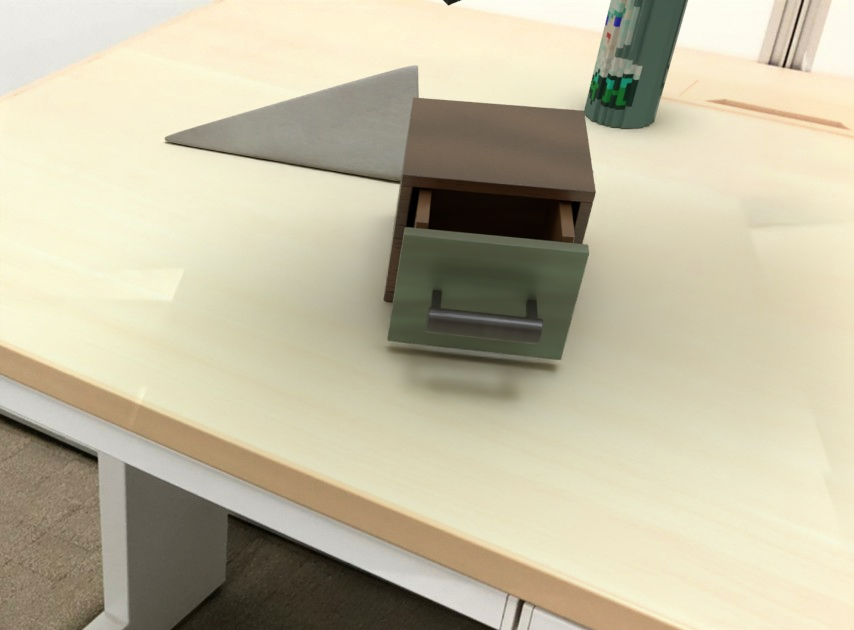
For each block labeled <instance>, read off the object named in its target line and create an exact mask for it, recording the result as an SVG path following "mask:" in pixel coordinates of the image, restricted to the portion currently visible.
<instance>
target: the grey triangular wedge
mask: <svg viewBox="0 0 854 630" xmlns="http://www.w3.org/2000/svg"><path fill="white" fill-rule="evenodd" d="M419 90H420V88H419V65H418V64H417V65H416V64H415V65H414V64H413V65H408V66H404V67H399V68H396V69H392V70H388V71H384V72H381V73H376V74H373V75H371V76H367V77H364V78H359V79H357V80H353V81H349V82H346V83H342V84H338V85H335V86H332V87H328V88H324V89H320V90H318V91H317V90H316V91H314V92H310V93H307V94H304V95H301V96H296V97H294V98H290V99H287V100H282V101H280V102H276V103H272V104H269V105H266V106H262V107H259V108H255V109H252V110H248V111H244V112H241V113H237V114H233V115H231V116H227V117H225V118H221V119H217V120H214V121H211V122H207V123H204V124H201V125H197V126H193V127H190V128H187V129H184V130H179V131H177V132H174V133H171V134H169V135H166V136H165V137H164V141H166V142H168V143H172V144H173V143H174V144H178V145H184V146H189V147H193V148H201V149H204V150H212V151H217V152H222V153H223V152H224V153H229V154H234V155H240V156H246V157H252V158H257V159H262V160H269V161H275V162H279V163H286V164H291V165H297V166H304V167H309V168H314V169H321V170H325V171H326V170H327V171H332V172H339V173H343V174H344V173H345V174H352V175H357V176H364V177H369V178H375V179H380V180H381V179H382V180H388V181H394V182H400V180H401V174H402V167H403V161H404V154H405V147H406V141H407V134H408V128H409V121H410V114H411V108H412V101H413V98H414V97H415V98H420V94H419V93H420V91H419Z"/></svg>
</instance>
